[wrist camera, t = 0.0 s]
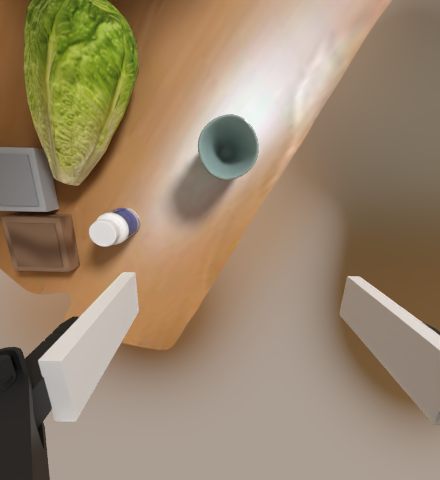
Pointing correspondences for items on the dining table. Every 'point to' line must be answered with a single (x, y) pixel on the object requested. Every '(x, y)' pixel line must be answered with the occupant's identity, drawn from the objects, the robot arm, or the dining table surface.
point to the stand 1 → (26, 180)
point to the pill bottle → (114, 227)
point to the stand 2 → (41, 242)
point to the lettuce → (77, 80)
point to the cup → (228, 147)
